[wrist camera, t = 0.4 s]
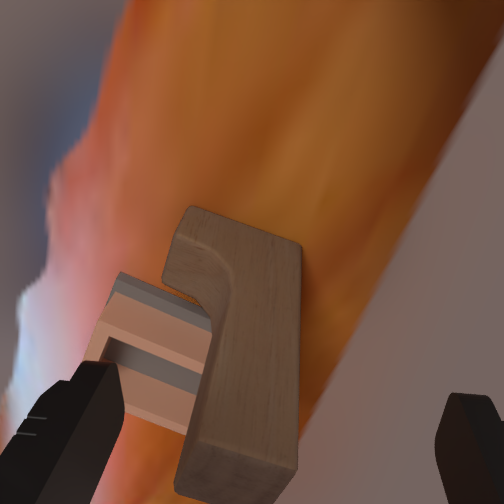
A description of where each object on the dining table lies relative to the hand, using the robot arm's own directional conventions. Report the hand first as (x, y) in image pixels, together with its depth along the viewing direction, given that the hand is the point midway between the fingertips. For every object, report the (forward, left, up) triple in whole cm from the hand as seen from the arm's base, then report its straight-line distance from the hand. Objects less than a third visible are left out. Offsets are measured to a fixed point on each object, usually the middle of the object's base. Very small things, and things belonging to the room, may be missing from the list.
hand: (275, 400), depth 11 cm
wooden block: (+10, 0, -21) cm, 23 cm away
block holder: (+23, 0, -21) cm, 31 cm away
